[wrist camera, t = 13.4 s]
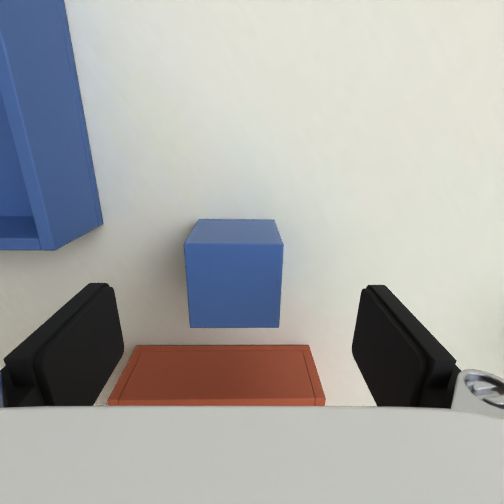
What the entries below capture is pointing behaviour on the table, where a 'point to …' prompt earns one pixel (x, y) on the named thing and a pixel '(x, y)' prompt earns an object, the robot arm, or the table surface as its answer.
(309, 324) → the table surface
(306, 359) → the terracotta bin
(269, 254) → the blue block
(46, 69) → the blue bin
